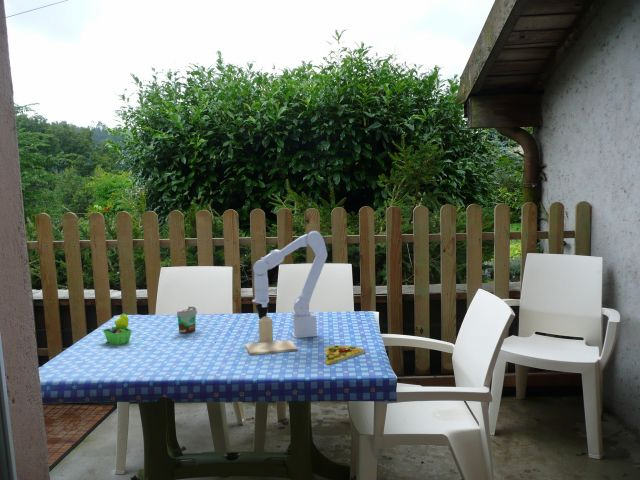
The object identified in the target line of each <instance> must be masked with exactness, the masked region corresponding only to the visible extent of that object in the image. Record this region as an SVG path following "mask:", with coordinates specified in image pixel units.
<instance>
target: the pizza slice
mask: <svg viewBox="0 0 640 480" xmlns="http://www.w3.org/2000/svg"><path fill="white" fill-rule="evenodd" d="M363 354H366V350H365V349H364V348H362V347H358V346H351V345H350V346H349V345H328V346H326V347H325V363H326V366H329V365H331V364H336V363H338V362H342V361H344V360H348V359H351V358H354V357H357V356H360V355H363Z"/></svg>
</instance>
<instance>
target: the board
mask: <svg viewBox="0 0 640 480" xmlns="http://www.w3.org/2000/svg"><path fill="white" fill-rule="evenodd" d="M244 346H245V348H246V350H247V352H248V355H249V356H255V355H256V356H257V355H264V354H265V355H266V354H267V355H268V354H275V353H285V352H286V353H287V352H295V351H296V352H297V351H298V347H297V346H296V345H295V344H294V342H292V340H291V339H288V340H287V339H285V340H273V341H272V342H262V343H261V342H252V343H245V345H244Z"/></svg>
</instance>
